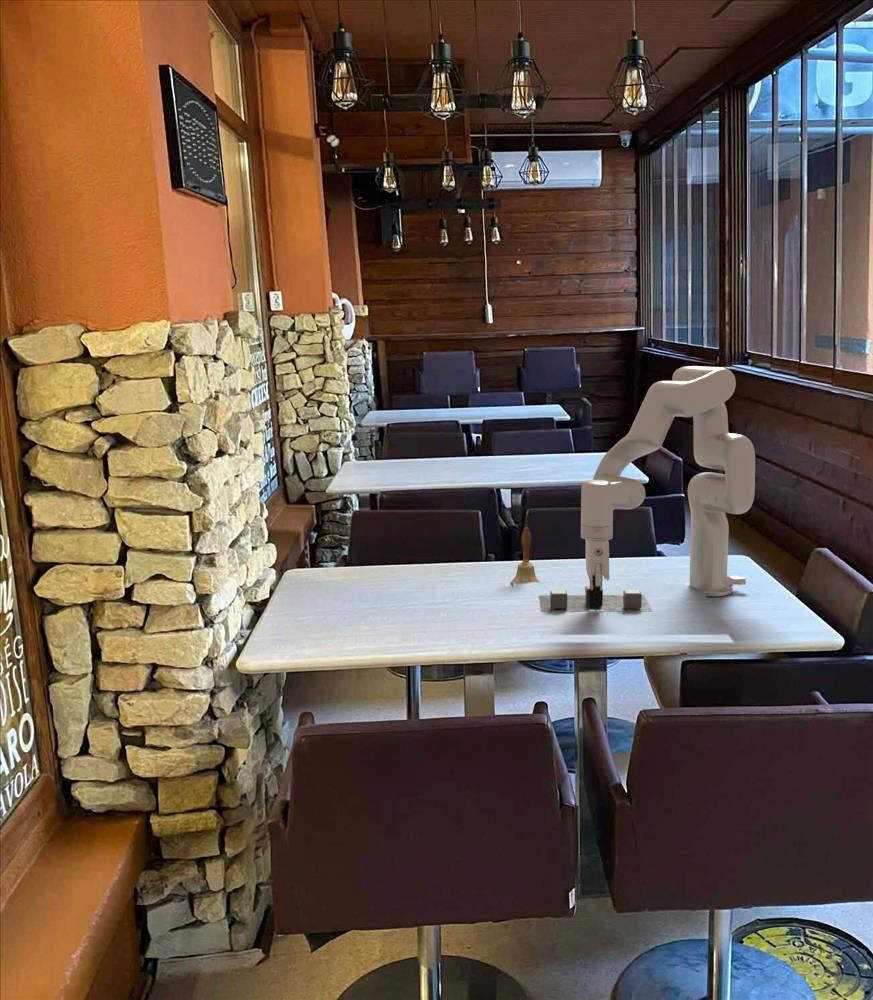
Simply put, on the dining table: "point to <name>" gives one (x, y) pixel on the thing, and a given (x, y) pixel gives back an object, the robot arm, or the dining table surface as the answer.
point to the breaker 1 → (558, 599)
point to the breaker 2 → (632, 599)
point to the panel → (579, 605)
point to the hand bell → (525, 562)
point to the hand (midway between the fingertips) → (595, 604)
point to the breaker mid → (587, 593)
